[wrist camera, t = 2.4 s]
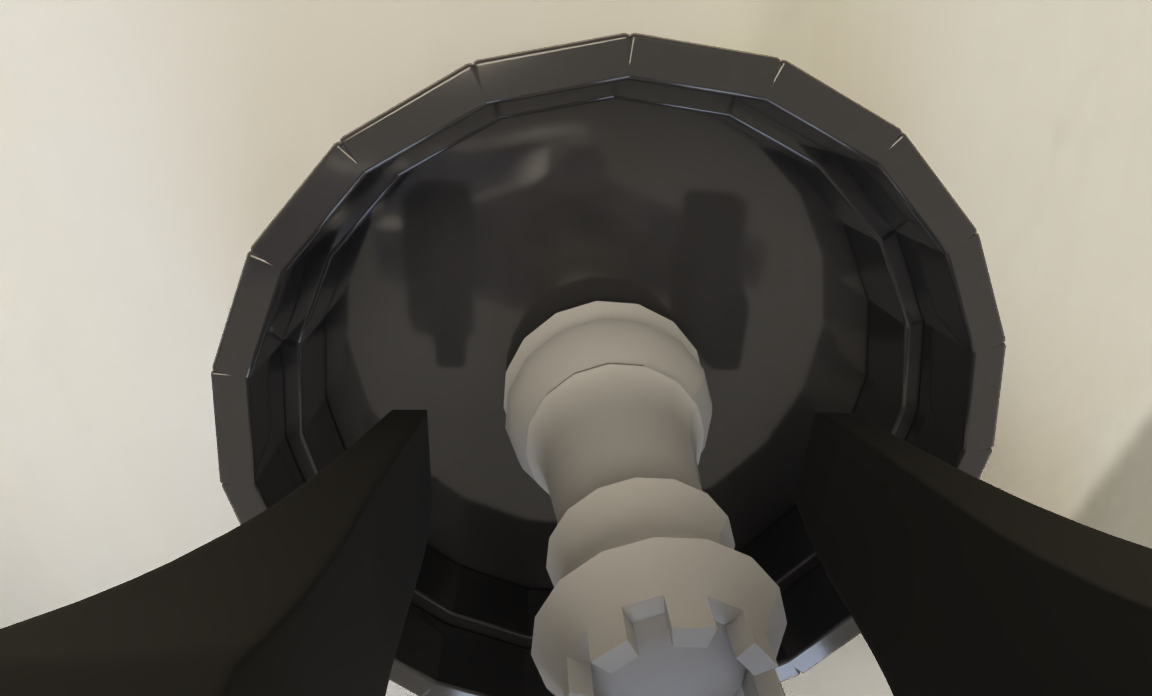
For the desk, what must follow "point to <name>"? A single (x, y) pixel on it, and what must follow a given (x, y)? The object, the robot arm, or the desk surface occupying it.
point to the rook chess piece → (634, 516)
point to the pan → (612, 274)
